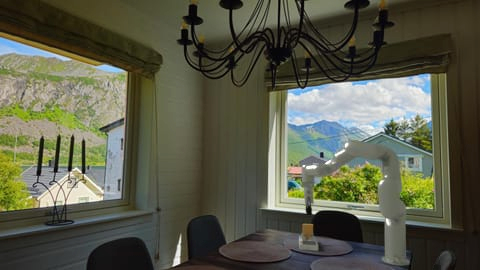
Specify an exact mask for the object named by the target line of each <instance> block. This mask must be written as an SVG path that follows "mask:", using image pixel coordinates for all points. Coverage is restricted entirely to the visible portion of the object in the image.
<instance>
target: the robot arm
mask: <svg viewBox="0 0 480 270" xmlns="http://www.w3.org/2000/svg"><path fill="white" fill-rule="evenodd" d="M357 158H361V159H365V160H369V161H378V162H381V174H382V178H381V179H380V180H379V181H378V184H377V199H378V206H379V208H378V209H379V212H380V214H381V215H382V217H384V256H382V257H381V261H382V262H384V263H385V264H388V265H393V266H398V267H399V266H401V267H404V266H409V265H411V264H410V263H411V261H410V260H409V259H407V247H406V246H407V240H406V239H407V238H406V236H407V235H406V233H407V232H406V223H407V219H406V218H407V206H406V204H405V203H404V201H403V200H402V199H400V193H402V190H403V183H402V176H401V175H402V174H401V173H402V172H401V166H400V161H399V157H398V155H397V153H396V152H395V151H394V150H393V149H392V148H391V147H388V146H386V145H383V144H378V143H373V142H366V141H362V140H358V139H357V140H356V139H349V140H348V141H347V142H346V143H344V147H342V148H341V149H339V150H337V151H335V152H334V153H333V157H332V158H331V159H329V160H328V161H327V162H324V163H317V164H302V165H301V188H303V194H304V195H303V197H304V203H305V213H306V216H312V215H313V207H312V205H314V204H315V203H314V189H315V186H316V185H315V178H321V177H323V178H324V177H328V176H330V175H332V174H333V173H335V172H337V171H338V170H340V169H341V168H342V167H344V166H345V165H346V164H348V163H350V162H352V161H353V160H355V159H357Z"/></svg>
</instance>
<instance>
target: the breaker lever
mask: <svg viewBox="0 0 480 270" xmlns="http://www.w3.org/2000/svg"><path fill="white" fill-rule="evenodd" d="M302 233H303V235H306V239H310V235H314V224H313V223H302Z"/></svg>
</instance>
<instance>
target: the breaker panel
mask: <svg viewBox="0 0 480 270" xmlns="http://www.w3.org/2000/svg"><path fill="white" fill-rule="evenodd" d="M298 244H299V246H298V247H299V250H303V251H313V252H318V251H319V243H318V240H317V238H316V236H315V235H314V234H313V235H310V239H306V235H303V232H301V234H300V235H298Z"/></svg>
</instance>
